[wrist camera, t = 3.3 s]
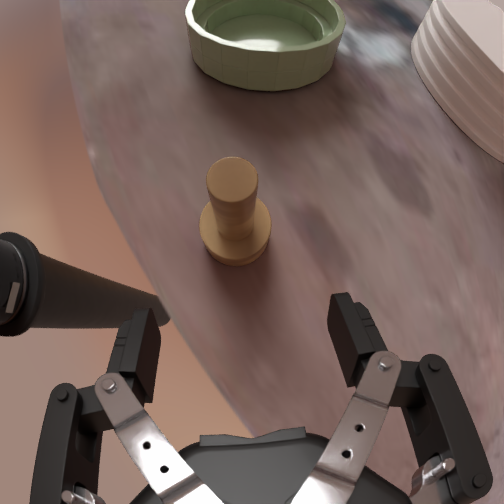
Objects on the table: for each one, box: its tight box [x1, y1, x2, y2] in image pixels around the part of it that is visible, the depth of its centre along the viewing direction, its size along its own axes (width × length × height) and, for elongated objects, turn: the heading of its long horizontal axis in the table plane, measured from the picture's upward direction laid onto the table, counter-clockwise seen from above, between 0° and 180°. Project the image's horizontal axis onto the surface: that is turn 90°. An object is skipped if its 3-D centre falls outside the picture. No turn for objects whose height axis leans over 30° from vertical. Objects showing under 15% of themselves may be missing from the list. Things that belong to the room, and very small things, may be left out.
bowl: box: [185, 0, 346, 91], centre depth 29 cm, size 18×18×6 cm
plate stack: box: [411, 0, 504, 163], centre depth 28 cm, size 28×28×12 cm
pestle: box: [199, 157, 271, 266], centre depth 22 cm, size 6×6×11 cm
